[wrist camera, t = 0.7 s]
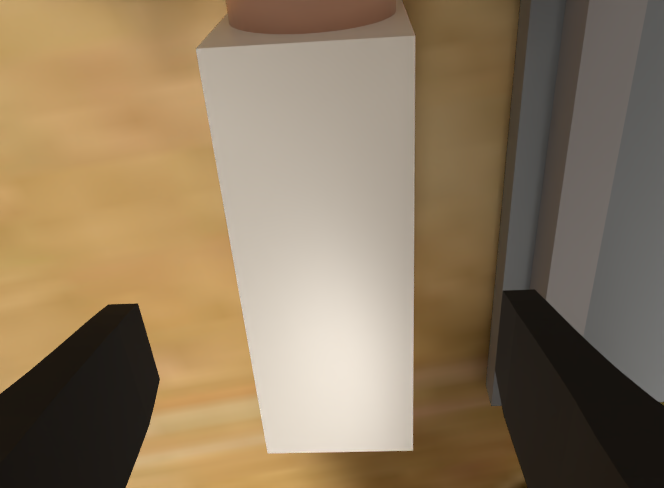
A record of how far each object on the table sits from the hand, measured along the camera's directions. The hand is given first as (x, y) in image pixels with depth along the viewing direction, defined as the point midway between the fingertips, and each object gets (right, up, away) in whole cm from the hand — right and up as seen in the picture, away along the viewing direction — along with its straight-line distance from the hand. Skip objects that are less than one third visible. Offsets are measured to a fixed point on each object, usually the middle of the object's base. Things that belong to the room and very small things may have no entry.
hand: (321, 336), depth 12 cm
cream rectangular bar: (0, +3, +6) cm, 7 cm away
